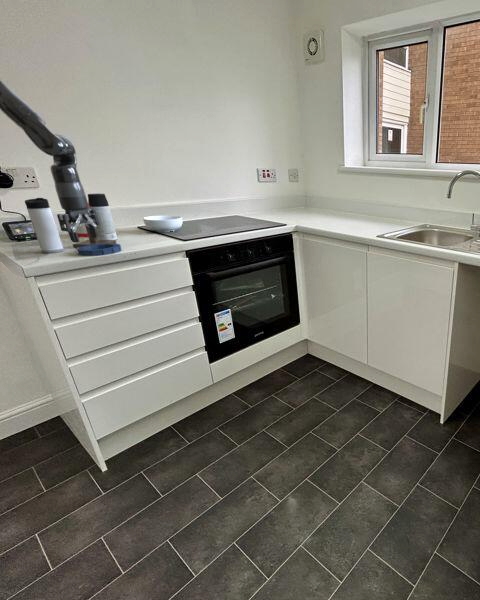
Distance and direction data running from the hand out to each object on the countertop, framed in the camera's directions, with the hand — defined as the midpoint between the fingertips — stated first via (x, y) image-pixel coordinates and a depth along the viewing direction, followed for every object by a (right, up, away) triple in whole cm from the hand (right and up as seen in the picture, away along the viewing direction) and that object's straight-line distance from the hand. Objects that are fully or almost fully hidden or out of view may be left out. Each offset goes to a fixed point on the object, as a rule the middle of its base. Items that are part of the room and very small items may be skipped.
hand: (85, 239), depth 132 cm
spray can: (-13, +4, +26) cm, 30 cm away
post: (-10, 0, +16) cm, 19 cm away
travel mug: (-17, -4, +5) cm, 18 cm away
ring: (0, -4, +7) cm, 8 cm away
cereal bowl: (-3, +13, +49) cm, 51 cm away
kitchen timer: (-28, +9, +36) cm, 47 cm away
